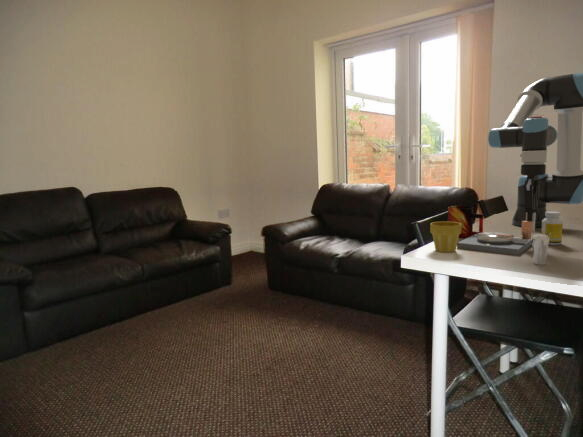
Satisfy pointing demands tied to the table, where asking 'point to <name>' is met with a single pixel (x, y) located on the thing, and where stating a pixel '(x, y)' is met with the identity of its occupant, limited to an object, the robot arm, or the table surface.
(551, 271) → the table surface
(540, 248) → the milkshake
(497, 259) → the table surface
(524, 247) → the base plate
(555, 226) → the pill bottle
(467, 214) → the mug
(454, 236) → the plant pot
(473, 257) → the table surface
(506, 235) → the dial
